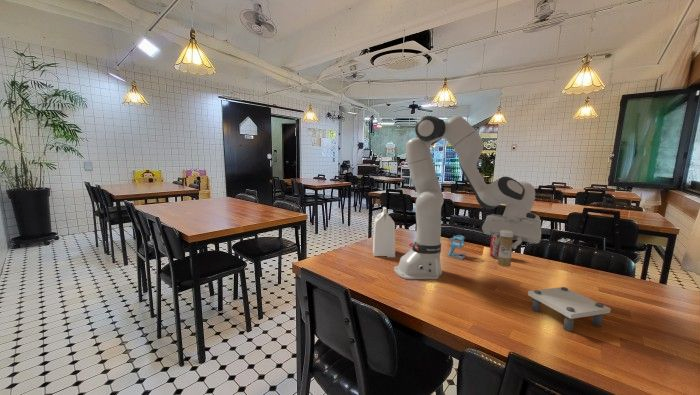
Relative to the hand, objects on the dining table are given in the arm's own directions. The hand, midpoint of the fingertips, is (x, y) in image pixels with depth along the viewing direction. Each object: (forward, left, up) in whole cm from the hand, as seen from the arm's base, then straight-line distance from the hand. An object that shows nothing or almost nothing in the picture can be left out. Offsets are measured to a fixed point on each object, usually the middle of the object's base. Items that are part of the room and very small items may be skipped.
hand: (505, 246), depth 110 cm
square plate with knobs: (+12, -17, -21) cm, 29 cm away
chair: (+12, +46, -21) cm, 52 cm away
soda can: (+33, +40, -21) cm, 56 cm away
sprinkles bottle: (+1, 0, -8) cm, 8 cm away
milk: (-26, +59, -21) cm, 68 cm away
